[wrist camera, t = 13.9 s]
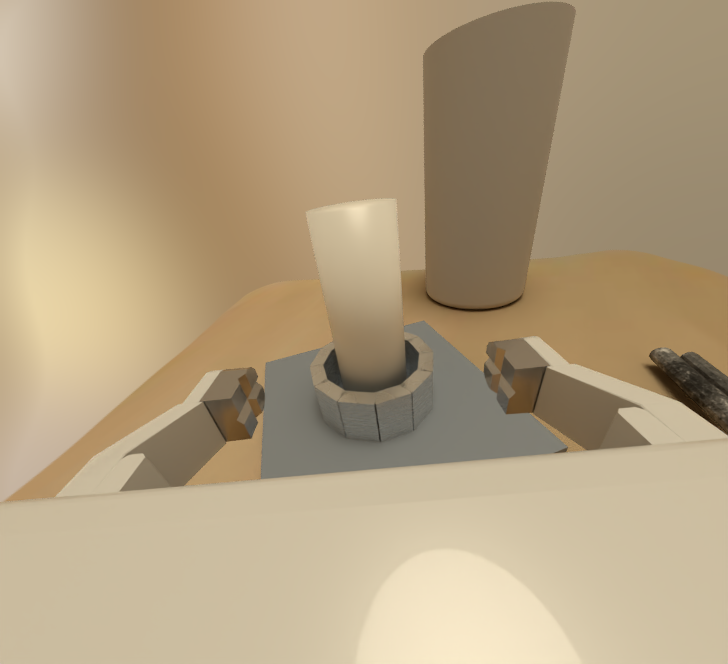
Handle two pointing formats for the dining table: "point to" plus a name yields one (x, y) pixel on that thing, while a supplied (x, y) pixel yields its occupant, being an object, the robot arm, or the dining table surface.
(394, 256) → the cream peg
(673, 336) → the dining table surface
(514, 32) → the cylinder vase
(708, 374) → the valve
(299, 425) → the slate plate
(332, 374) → the collar
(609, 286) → the dining table surface
